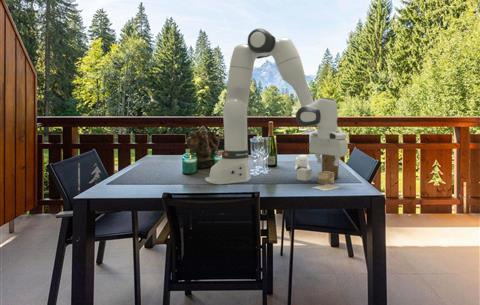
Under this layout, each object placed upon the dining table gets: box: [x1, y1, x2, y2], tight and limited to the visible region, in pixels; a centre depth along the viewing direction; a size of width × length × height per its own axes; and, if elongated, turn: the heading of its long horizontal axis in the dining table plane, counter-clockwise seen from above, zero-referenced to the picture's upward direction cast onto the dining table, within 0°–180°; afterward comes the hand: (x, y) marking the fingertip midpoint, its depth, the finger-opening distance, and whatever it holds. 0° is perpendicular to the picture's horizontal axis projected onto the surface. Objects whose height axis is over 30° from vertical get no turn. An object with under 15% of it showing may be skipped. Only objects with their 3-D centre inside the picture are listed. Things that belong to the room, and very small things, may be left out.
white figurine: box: [293, 154, 311, 171], centre depth 206 cm, size 9×8×15 cm
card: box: [312, 184, 342, 192], centre depth 162 cm, size 10×7×1 cm
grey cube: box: [296, 167, 313, 182], centre depth 180 cm, size 5×5×5 cm
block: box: [321, 154, 340, 180], centre depth 183 cm, size 11×8×20 cm
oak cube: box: [317, 171, 335, 185], centre depth 171 cm, size 5×5×5 cm
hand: (327, 164), depth 170 cm, fingers open, 8 cm apart
